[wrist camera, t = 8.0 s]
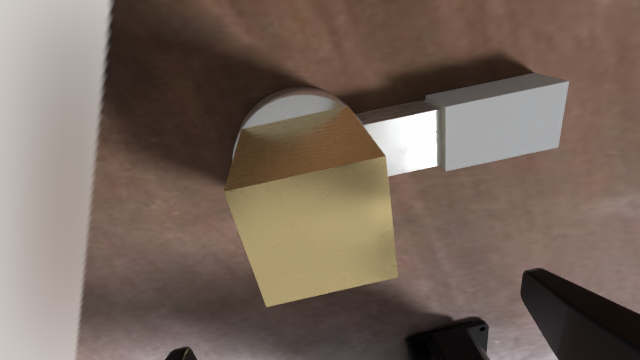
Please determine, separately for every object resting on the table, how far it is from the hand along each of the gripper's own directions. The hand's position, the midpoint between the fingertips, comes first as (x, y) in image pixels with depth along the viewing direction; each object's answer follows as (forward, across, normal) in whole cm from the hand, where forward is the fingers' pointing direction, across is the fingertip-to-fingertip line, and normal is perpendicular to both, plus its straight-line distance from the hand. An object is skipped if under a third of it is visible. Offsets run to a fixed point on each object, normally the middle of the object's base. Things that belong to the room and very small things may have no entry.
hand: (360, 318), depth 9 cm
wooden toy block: (+9, +1, -1) cm, 9 cm away
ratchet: (+11, -4, 0) cm, 12 cm away
